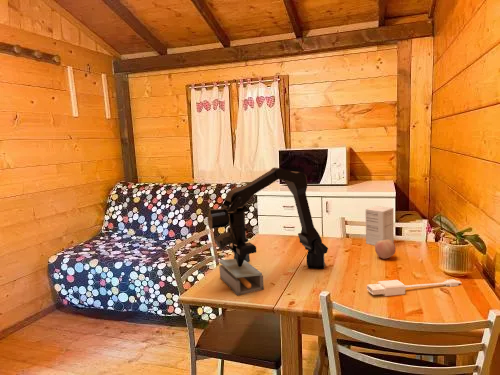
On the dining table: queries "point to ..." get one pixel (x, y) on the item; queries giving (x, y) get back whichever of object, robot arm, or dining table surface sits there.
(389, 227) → the supplement box
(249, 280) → the cable duct
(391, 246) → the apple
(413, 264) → the dining table surface
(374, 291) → the charging cable
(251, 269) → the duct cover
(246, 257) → the watch
